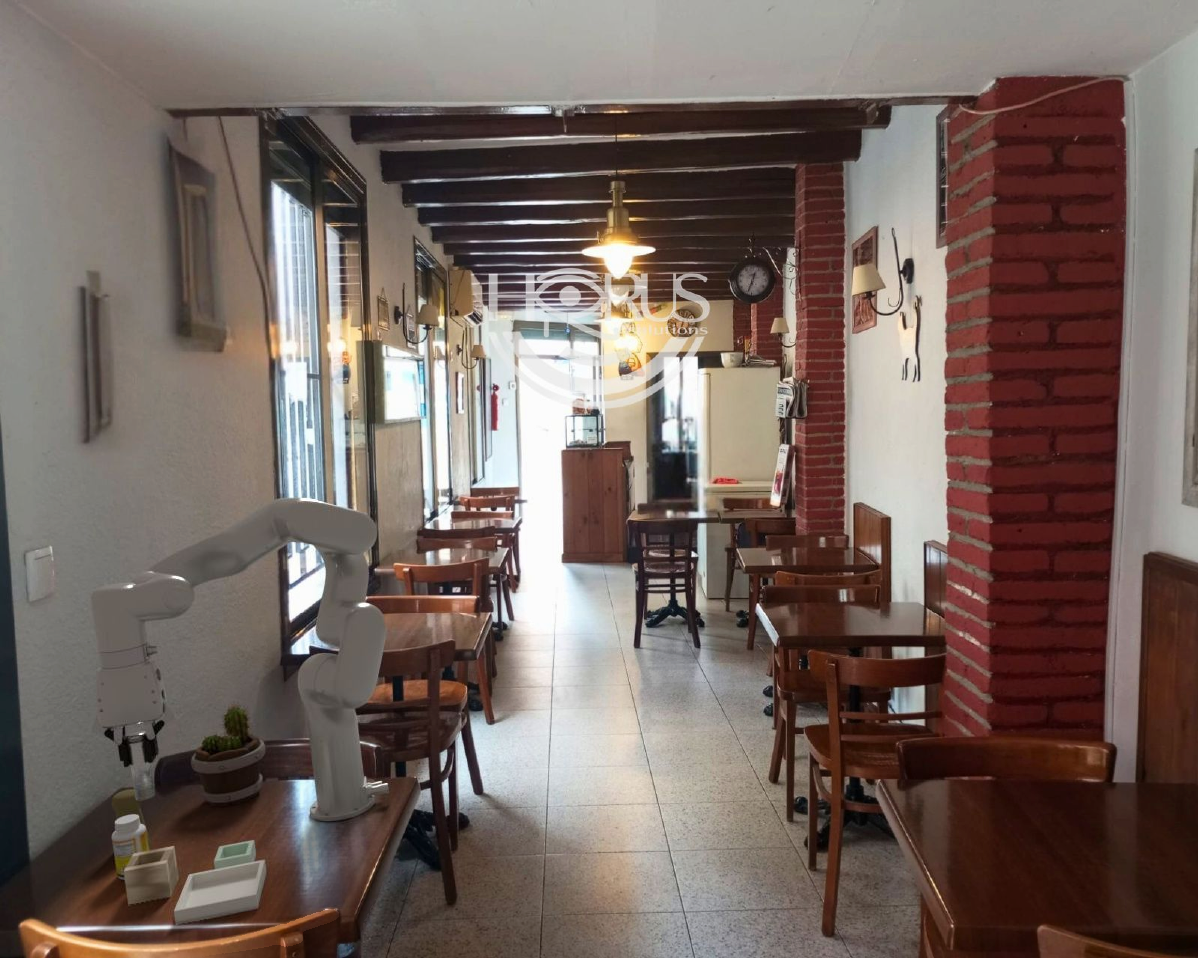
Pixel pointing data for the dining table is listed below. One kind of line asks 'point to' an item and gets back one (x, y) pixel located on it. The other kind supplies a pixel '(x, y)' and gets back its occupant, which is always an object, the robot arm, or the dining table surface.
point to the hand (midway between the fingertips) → (140, 761)
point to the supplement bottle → (128, 841)
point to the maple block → (151, 875)
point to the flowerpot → (230, 761)
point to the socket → (235, 854)
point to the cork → (128, 806)
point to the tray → (221, 892)
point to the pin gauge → (140, 766)
